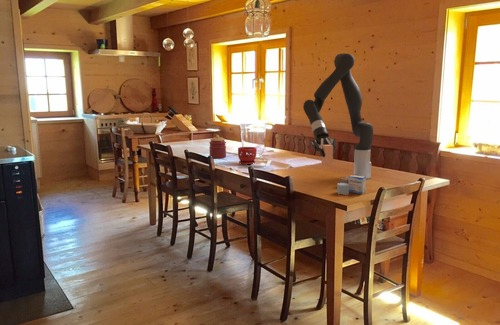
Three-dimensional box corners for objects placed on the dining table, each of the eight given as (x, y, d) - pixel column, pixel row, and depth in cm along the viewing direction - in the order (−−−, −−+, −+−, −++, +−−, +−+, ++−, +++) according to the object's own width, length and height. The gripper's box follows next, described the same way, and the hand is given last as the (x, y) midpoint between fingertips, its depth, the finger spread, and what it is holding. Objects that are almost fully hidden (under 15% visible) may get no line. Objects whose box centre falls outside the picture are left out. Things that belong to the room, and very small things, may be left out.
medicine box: (347, 192, 225) (348, 176, 223) (351, 190, 228) (351, 174, 227) (362, 194, 220) (363, 177, 219) (365, 192, 224) (366, 176, 222)
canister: (208, 156, 338) (207, 134, 335) (224, 155, 342) (223, 133, 339) (211, 159, 326) (211, 136, 323) (228, 158, 330) (227, 135, 326)
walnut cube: (346, 185, 239) (347, 177, 238) (352, 187, 235) (352, 178, 234) (339, 186, 237) (339, 177, 236) (345, 188, 233) (345, 179, 232)
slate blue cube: (346, 192, 225) (346, 183, 224) (348, 194, 220) (348, 185, 219) (337, 192, 225) (337, 183, 224) (338, 194, 220) (339, 185, 219)
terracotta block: (329, 162, 230) (329, 144, 228) (332, 164, 226) (333, 145, 224) (321, 163, 229) (321, 144, 227) (324, 165, 225) (325, 146, 223)
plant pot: (256, 165, 299) (256, 148, 296) (237, 165, 299) (237, 148, 297) (256, 162, 311) (256, 146, 309) (238, 162, 312) (238, 146, 310)
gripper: (309, 126, 229) (318, 152, 220) (333, 125, 232) (343, 150, 223) (305, 135, 235) (314, 161, 226) (329, 134, 239) (339, 159, 229)
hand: (328, 155), depth 225 cm, fingers closed on terracotta block, 4 cm apart
